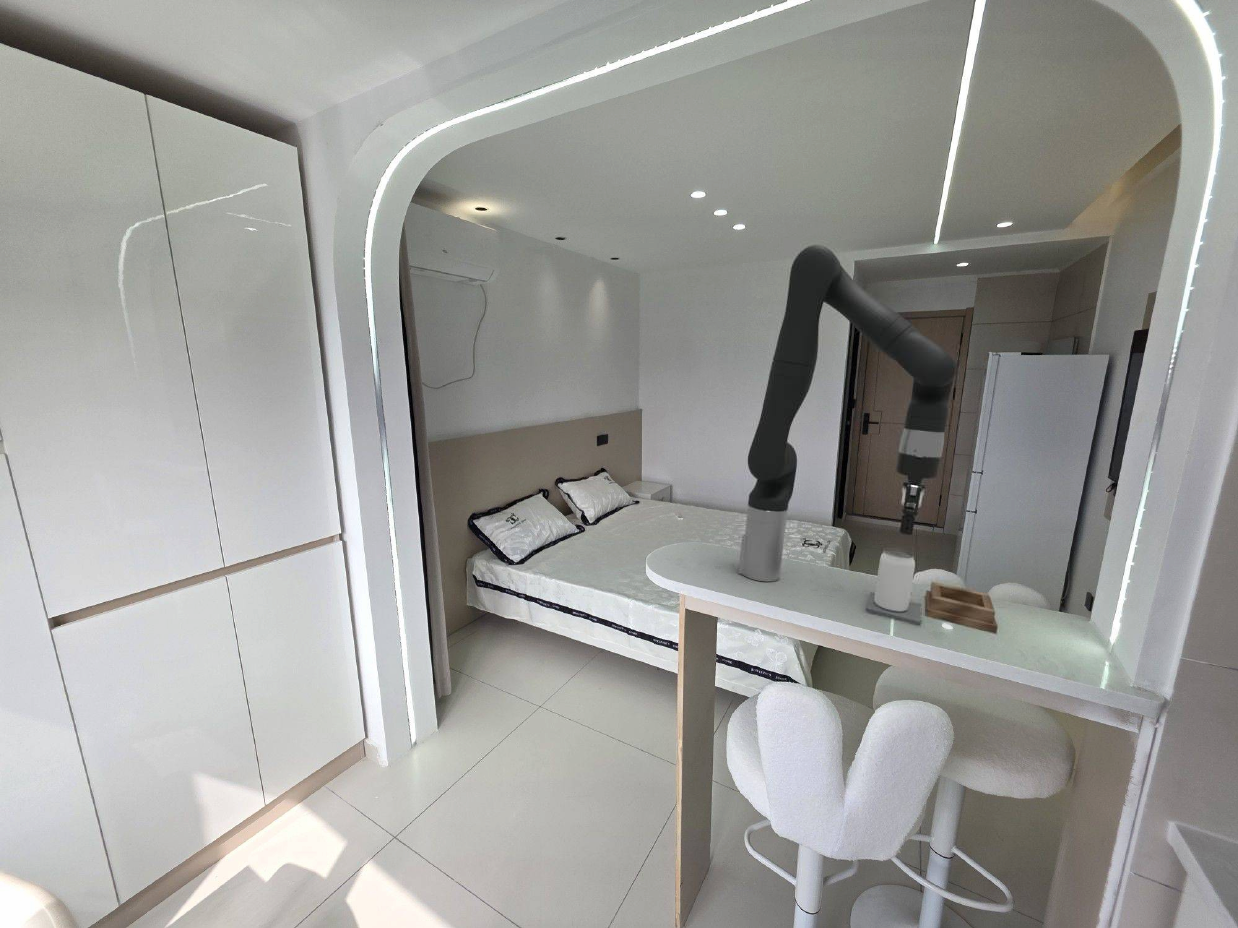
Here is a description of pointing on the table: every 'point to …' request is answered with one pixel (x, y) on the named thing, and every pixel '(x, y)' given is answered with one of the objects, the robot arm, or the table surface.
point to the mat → (909, 615)
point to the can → (894, 580)
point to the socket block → (961, 607)
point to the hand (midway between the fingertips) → (906, 528)
